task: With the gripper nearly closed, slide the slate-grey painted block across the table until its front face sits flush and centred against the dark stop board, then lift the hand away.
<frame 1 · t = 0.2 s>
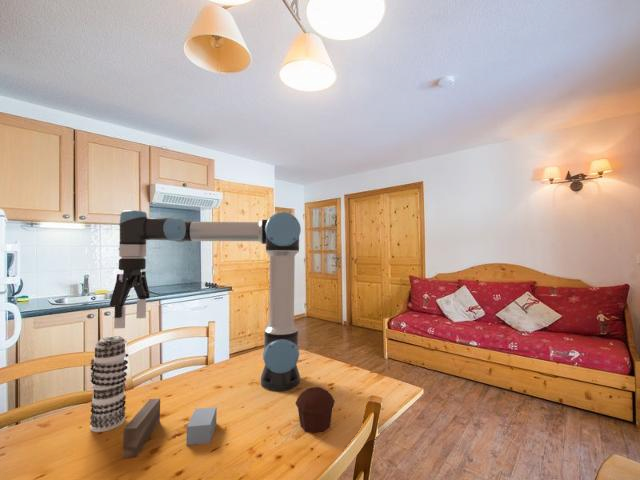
hand: (131, 322, 97), 28 cm above the table, tool pointing down, fingers open, 13 cm apart
slate block: (202, 434, 83), on the table
decorative candle: (108, 424, 88), on the table
stop board: (143, 438, 81), on the table
muffin: (315, 425, 87), on the table
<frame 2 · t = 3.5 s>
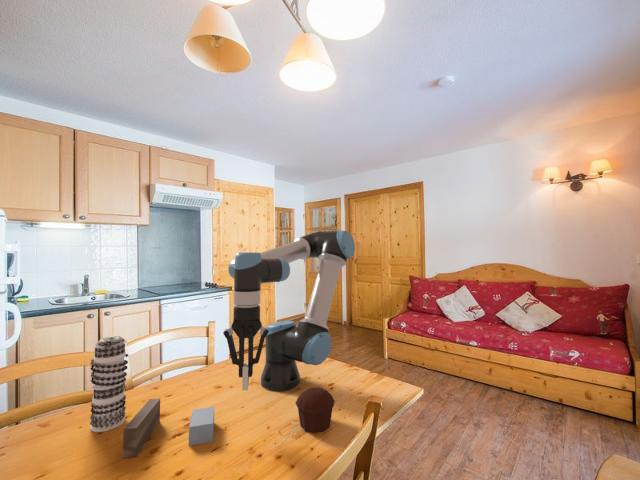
hand: (245, 388, 85), 12 cm above the table, tool pointing down, fingers closed
nothing on the table moved.
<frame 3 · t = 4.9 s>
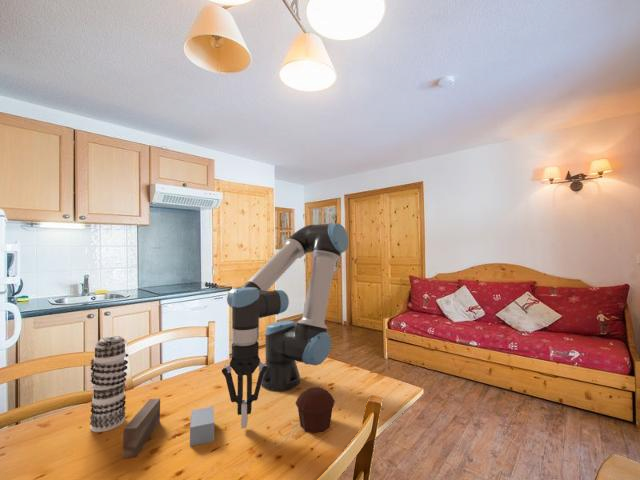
hand: (244, 425, 85), 1 cm above the table, tool pointing down, fingers closed
nothing on the table moved.
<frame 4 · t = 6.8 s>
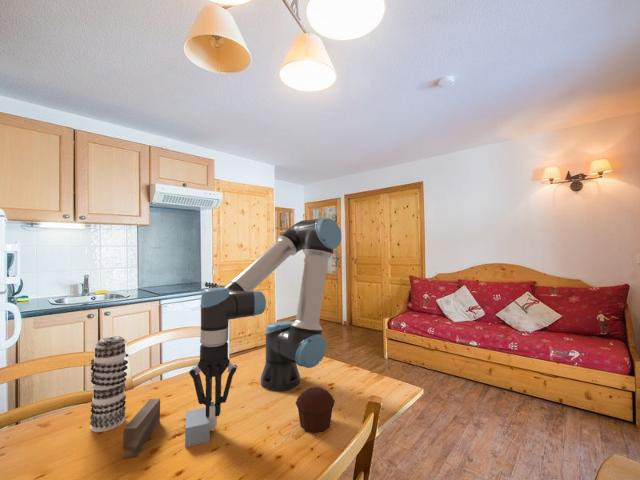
hand: (212, 427, 83), 2 cm above the table, tool pointing down, fingers closed
slate block: (197, 435, 82), on the table, touching gripper
everything else where it was.
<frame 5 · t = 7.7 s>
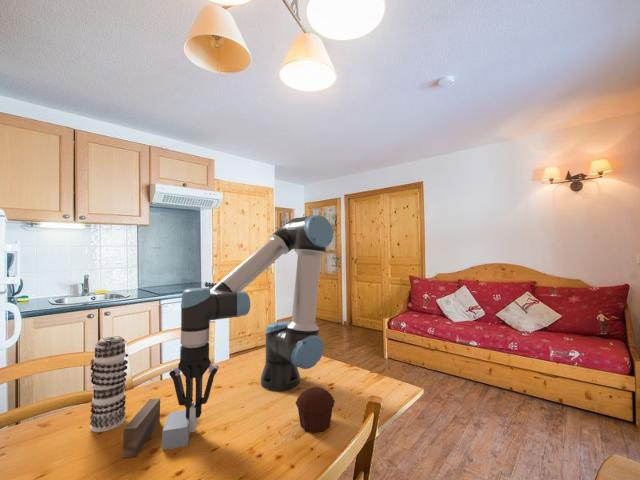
hand: (193, 428, 83), 2 cm above the table, tool pointing down, fingers closed
slate block: (177, 437, 81), on the table, touching gripper
everything else where it was.
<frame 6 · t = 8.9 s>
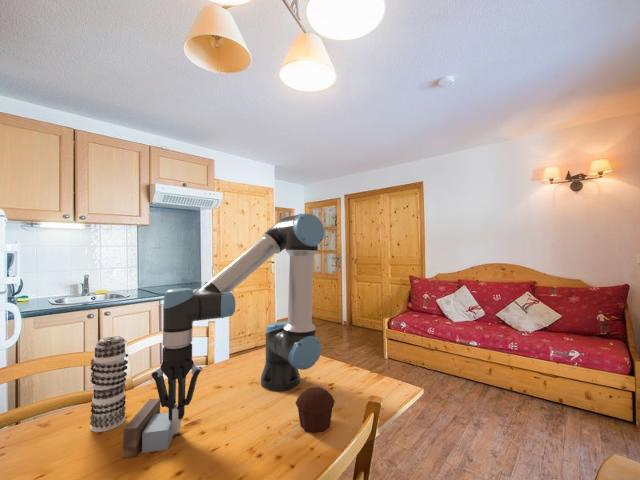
hand: (176, 430, 82), 1 cm above the table, tool pointing down, fingers closed
slate block: (160, 440, 80), on the table, touching gripper, stop board
everything else where it was.
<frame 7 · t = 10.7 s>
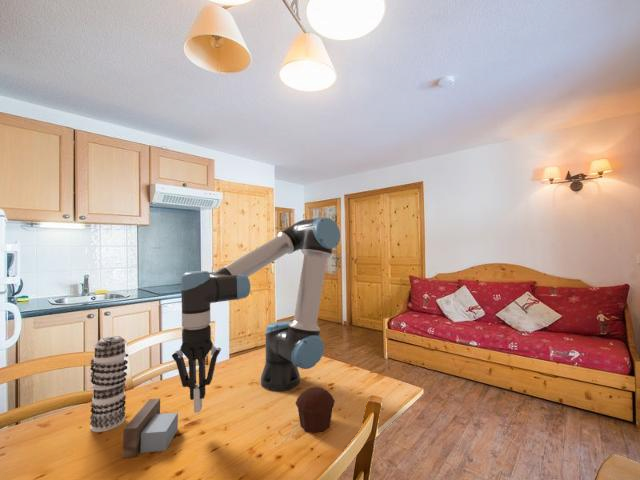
hand: (198, 409, 83), 6 cm above the table, tool pointing down, fingers closed
slate block: (160, 441, 80), on the table
everything else where it was.
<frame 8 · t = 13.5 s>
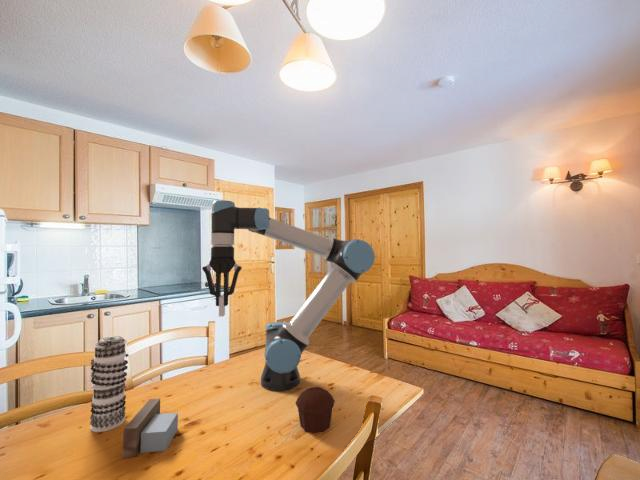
hand: (221, 315, 100), 29 cm above the table, tool pointing down, fingers closed
nothing on the table moved.
at the end: slate block 1.5 cm from the target spot on the table beside the stop board, on the table; slate block tilted 0° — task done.
